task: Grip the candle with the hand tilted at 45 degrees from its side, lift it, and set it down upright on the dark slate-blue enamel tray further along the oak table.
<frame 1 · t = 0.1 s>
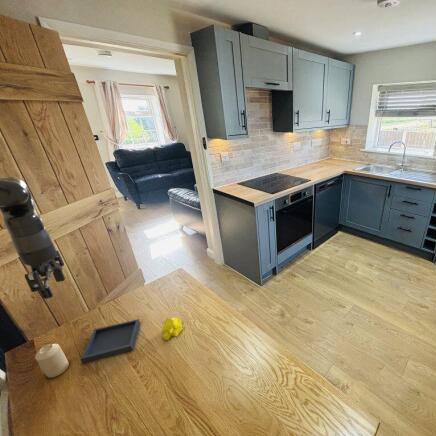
hand: (55, 288, 76), 25 cm above the table, tool pointing down, fingers open, 8 cm apart
tray: (113, 341, 87), on the table
crumpled paper: (173, 331, 92), on the table
candle: (58, 369, 77), on the table
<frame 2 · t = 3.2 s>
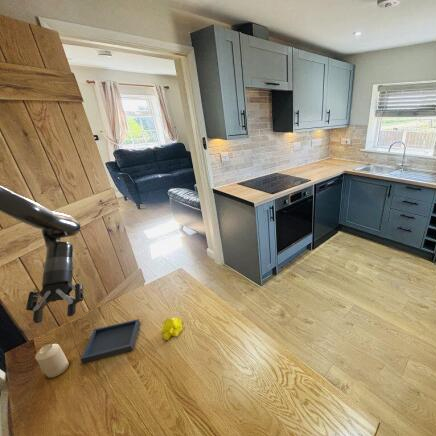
hand: (54, 319, 79), 14 cm above the table, tool tilted 45°, fingers open, 8 cm apart
nothing on the table moved.
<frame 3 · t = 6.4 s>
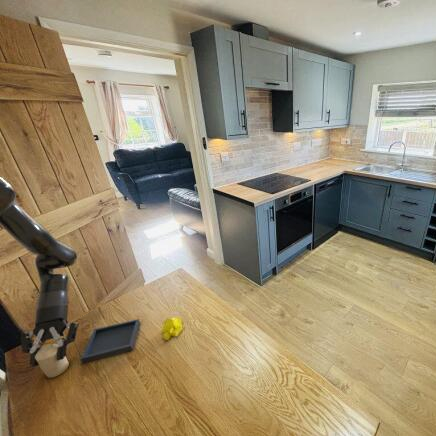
hand: (48, 362, 74), 6 cm above the table, tool tilted 45°, fingers closed on candle, 5 cm apart
candle: (58, 369, 77), on the table, touching gripper
everything else where it was.
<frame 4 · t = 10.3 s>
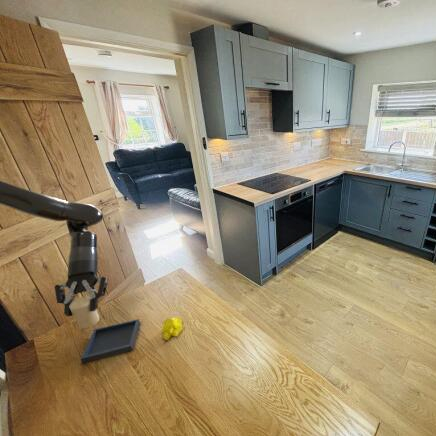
hand: (81, 313, 76), 18 cm above the table, tool tilted 45°, fingers closed on candle, 5 cm apart
candle: (89, 322, 80), point 12 cm above the table, touching gripper
everything else where it was.
when the fingers open (7 cm above the table, at t = 14.4 s): candle stays where it is, resting on tray.
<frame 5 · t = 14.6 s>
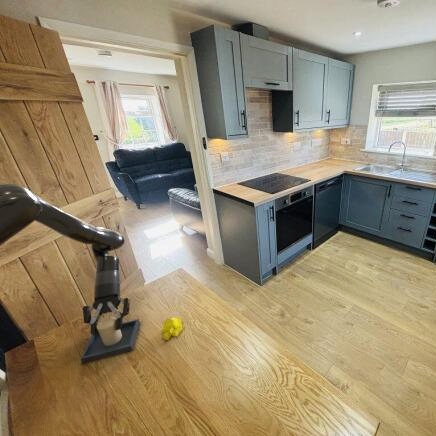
hand: (107, 332, 83), 7 cm above the table, tool tilted 45°, fingers open, 6 cm apart
candle: (113, 340, 87), point 1 cm above the table, touching tray
everything else where it was.
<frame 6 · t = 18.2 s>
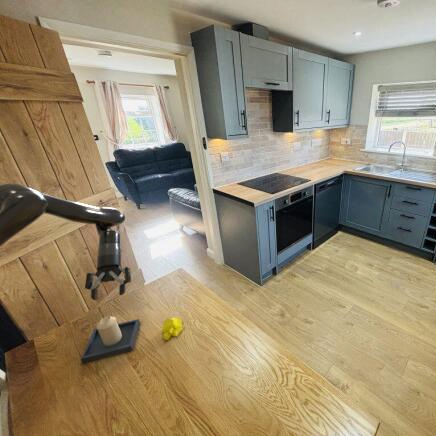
hand: (108, 297, 91), 12 cm above the table, tool tilted 45°, fingers open, 8 cm apart
nothing on the table moved.
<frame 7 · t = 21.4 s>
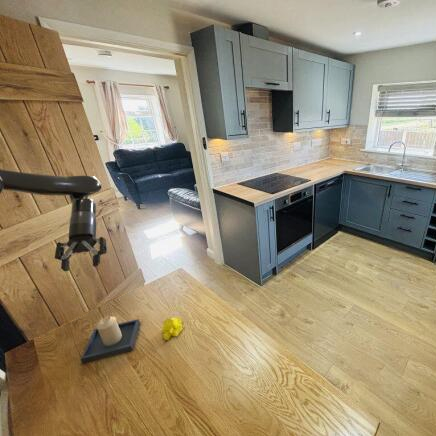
hand: (80, 268, 83), 27 cm above the table, tool tilted 45°, fingers open, 8 cm apart
nothing on the table moved.
at the end: candle inside the target area in the tray (0.2 cm from its centre), point 0.6 cm above the tray's base; candle tilted 0°; the gripper is holding nothing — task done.
